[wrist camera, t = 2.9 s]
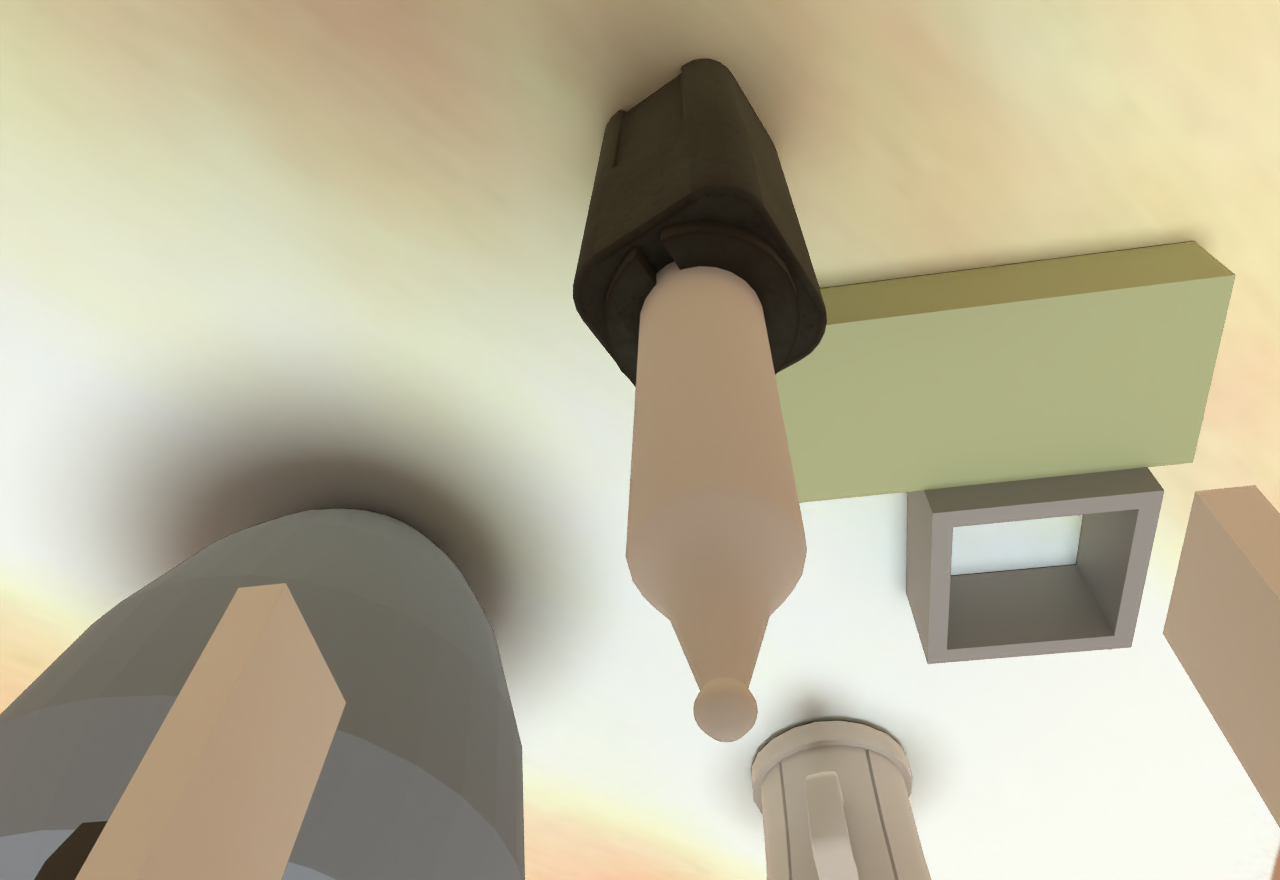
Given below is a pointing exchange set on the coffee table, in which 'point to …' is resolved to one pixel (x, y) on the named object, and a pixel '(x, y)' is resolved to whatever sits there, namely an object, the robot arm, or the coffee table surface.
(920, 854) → the cup
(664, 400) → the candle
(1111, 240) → the coffee table surface
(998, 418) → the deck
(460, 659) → the vase
